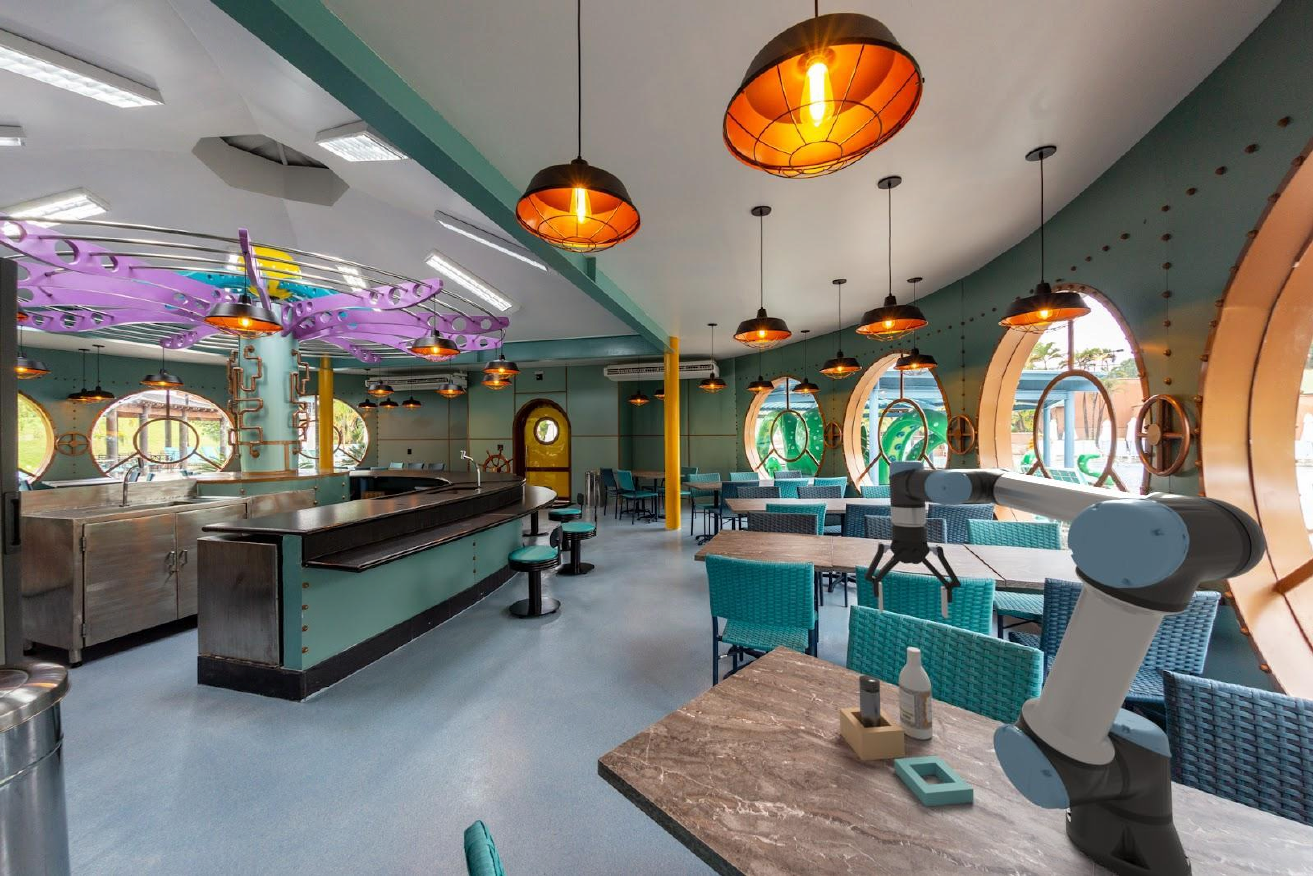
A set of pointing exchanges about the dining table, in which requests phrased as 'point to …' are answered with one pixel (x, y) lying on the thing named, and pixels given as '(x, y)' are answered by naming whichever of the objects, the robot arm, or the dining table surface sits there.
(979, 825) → the dining table surface
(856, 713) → the socket
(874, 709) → the pin
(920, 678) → the bath foam
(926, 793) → the mount
